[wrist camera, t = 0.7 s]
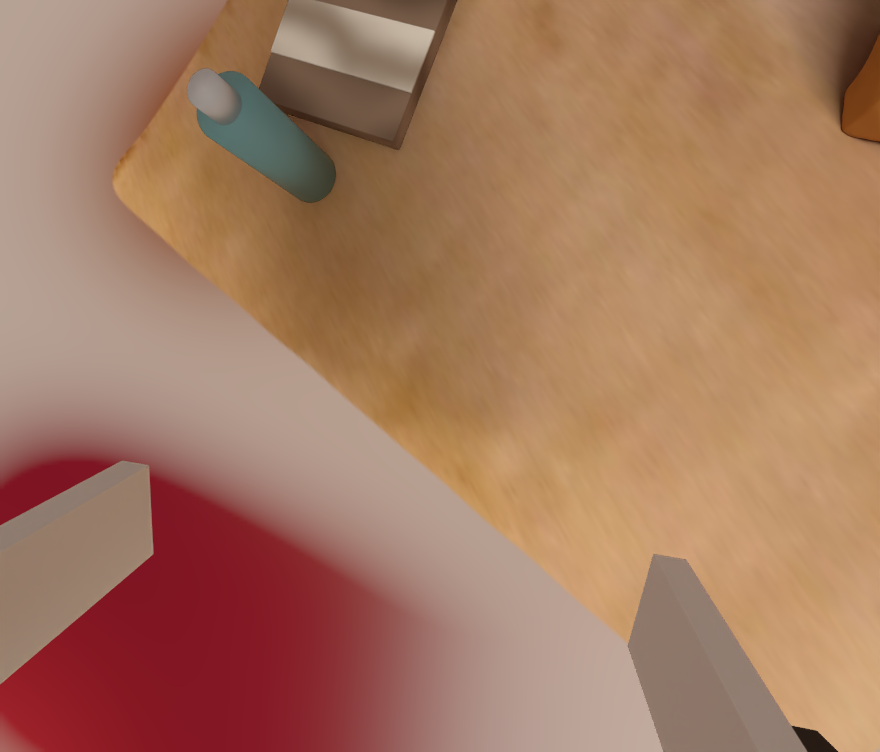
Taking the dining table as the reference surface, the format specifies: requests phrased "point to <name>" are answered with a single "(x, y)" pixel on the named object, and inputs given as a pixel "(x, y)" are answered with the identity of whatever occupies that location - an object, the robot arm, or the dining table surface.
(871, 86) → the coffee package
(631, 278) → the dining table surface
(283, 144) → the teal bottle with cap
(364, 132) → the brown cream striped panel
